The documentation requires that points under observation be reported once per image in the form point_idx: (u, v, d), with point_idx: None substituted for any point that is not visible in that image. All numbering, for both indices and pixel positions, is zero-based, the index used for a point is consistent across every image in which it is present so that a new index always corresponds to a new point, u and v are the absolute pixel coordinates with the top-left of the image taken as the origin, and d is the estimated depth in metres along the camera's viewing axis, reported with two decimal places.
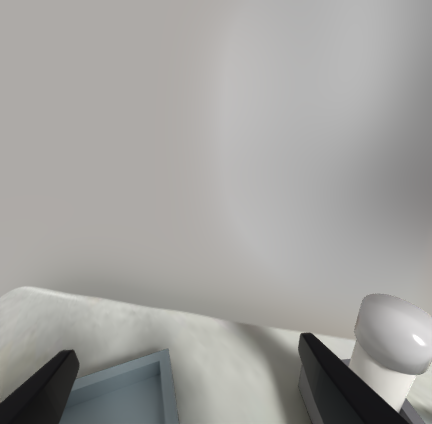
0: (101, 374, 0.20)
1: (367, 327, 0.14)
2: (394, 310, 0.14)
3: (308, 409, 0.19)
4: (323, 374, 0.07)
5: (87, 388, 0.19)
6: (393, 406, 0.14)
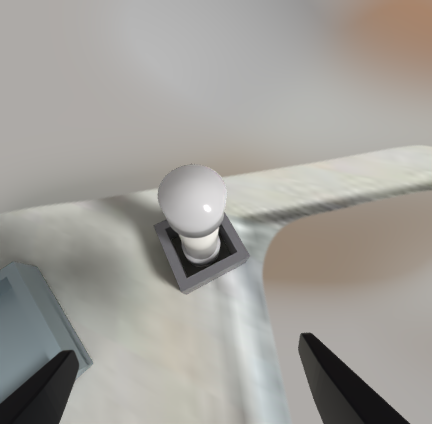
0: None
1: None
2: (190, 185, 0.12)
3: None
4: (323, 374, 0.07)
5: None
6: (206, 246, 0.17)
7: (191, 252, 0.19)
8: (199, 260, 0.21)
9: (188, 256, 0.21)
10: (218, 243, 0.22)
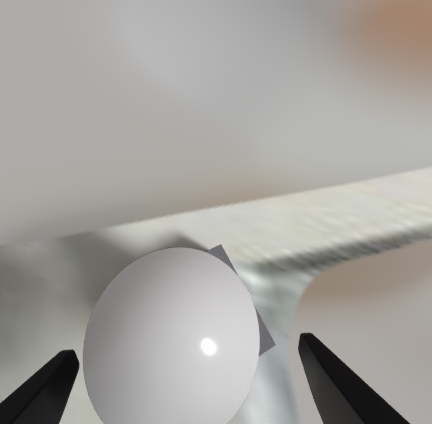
0: None
1: None
2: (169, 311, 0.05)
3: None
4: (323, 374, 0.07)
5: None
6: None
7: None
8: None
9: None
10: None
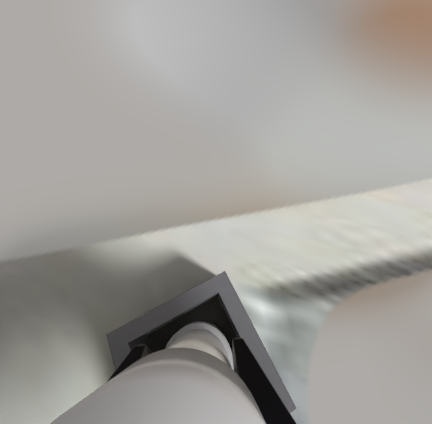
0: None
1: None
2: None
3: None
4: None
5: None
6: None
7: None
8: None
9: None
10: (230, 364, 0.11)
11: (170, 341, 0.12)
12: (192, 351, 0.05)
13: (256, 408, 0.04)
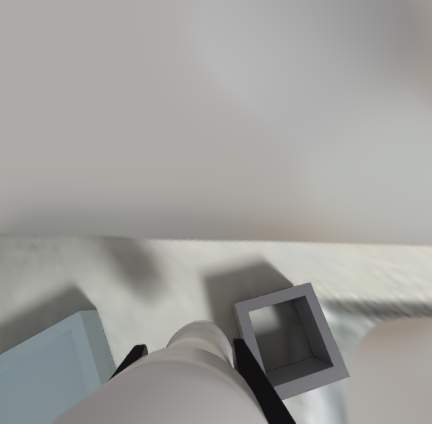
0: (0, 360, 0.17)
1: None
2: None
3: (237, 326, 0.20)
4: None
5: None
6: None
7: None
8: None
9: None
10: (231, 363, 0.11)
11: (171, 340, 0.12)
12: (194, 349, 0.05)
13: (258, 406, 0.04)
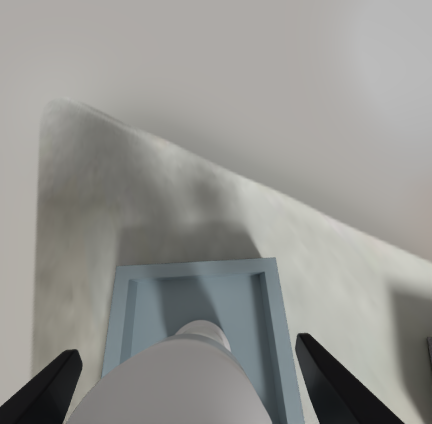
0: (192, 267, 0.16)
1: None
2: None
3: None
4: (319, 374, 0.07)
5: (176, 277, 0.16)
6: None
7: None
8: None
9: None
10: None
11: None
12: (197, 335, 0.06)
13: (245, 373, 0.05)
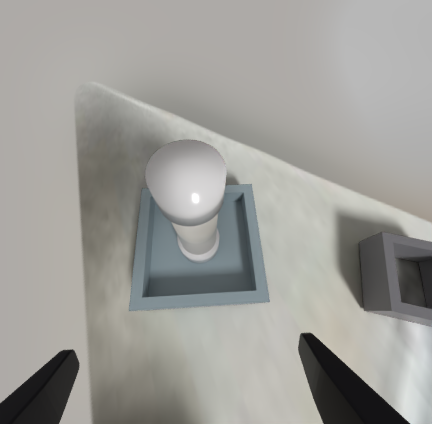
0: None
1: (152, 194, 0.10)
2: (184, 163, 0.10)
3: (362, 259, 0.22)
4: (323, 374, 0.07)
5: None
6: (203, 238, 0.15)
7: (187, 246, 0.17)
8: (196, 255, 0.19)
9: (184, 251, 0.19)
10: (217, 237, 0.20)
11: None
12: None
13: None
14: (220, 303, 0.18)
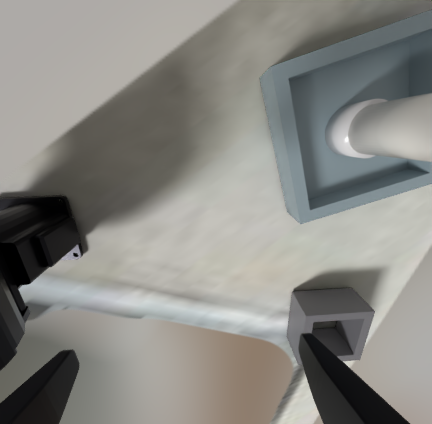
0: None
1: None
2: None
3: (336, 291, 0.24)
4: (323, 374, 0.07)
5: (429, 85, 0.15)
6: (402, 148, 0.11)
7: (375, 123, 0.13)
8: (346, 135, 0.15)
9: (351, 117, 0.15)
10: (370, 155, 0.16)
11: (387, 101, 0.14)
12: None
13: None
14: (293, 176, 0.16)
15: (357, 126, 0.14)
